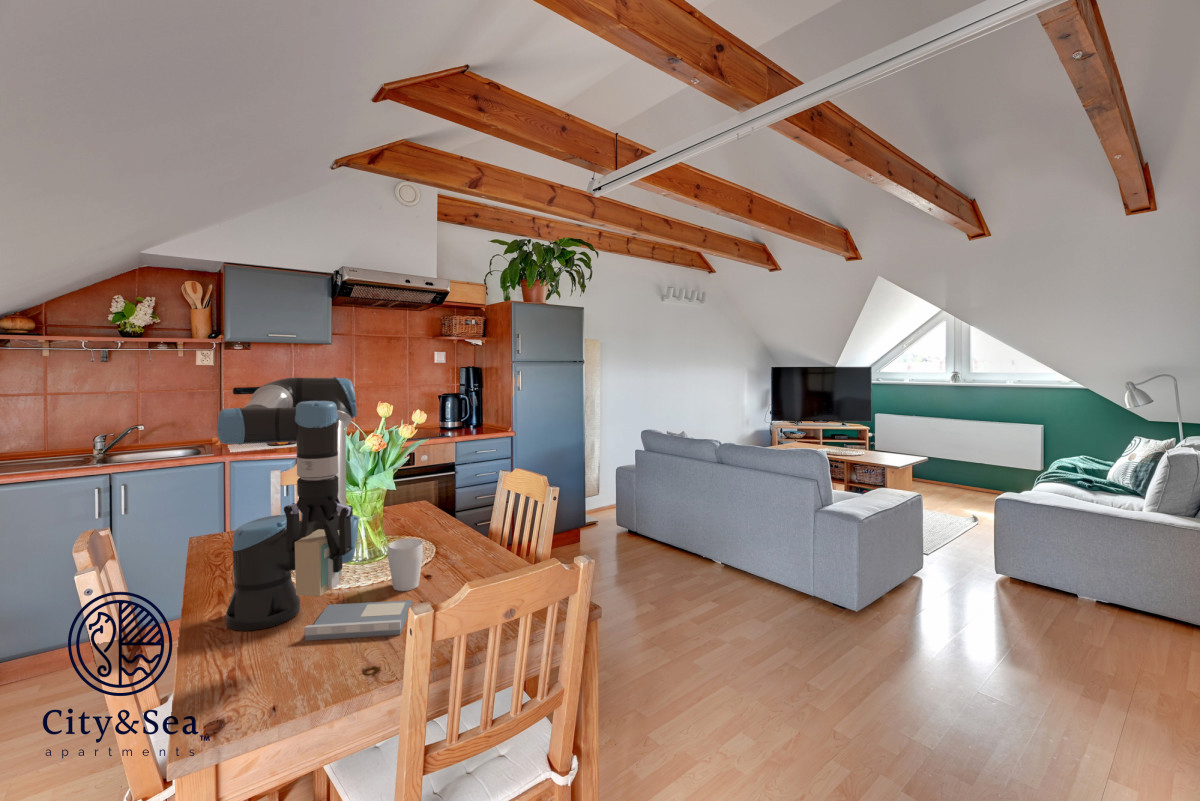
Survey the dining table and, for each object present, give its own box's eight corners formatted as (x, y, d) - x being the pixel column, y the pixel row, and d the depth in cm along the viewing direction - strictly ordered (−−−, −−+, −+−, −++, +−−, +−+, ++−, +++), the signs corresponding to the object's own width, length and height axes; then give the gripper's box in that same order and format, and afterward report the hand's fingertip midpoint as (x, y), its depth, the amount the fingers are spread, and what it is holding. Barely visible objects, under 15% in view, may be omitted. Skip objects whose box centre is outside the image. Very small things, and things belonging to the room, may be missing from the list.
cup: (411, 594, 140) (411, 550, 139) (381, 591, 142) (380, 547, 141) (429, 581, 149) (429, 539, 148) (400, 578, 150) (400, 537, 150)
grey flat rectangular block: (304, 641, 116) (304, 628, 116) (328, 609, 131) (328, 597, 131) (400, 635, 119) (399, 622, 119) (412, 604, 134) (412, 593, 134)
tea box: (321, 596, 106) (319, 543, 105) (295, 595, 106) (294, 541, 105) (342, 580, 114) (341, 530, 113) (319, 578, 114) (318, 529, 113)
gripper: (262, 478, 105) (265, 591, 107) (351, 481, 104) (352, 595, 106) (287, 471, 113) (289, 576, 114) (369, 473, 112) (371, 580, 113)
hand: (320, 585), depth 110 cm, fingers closed on tea box, 5 cm apart
